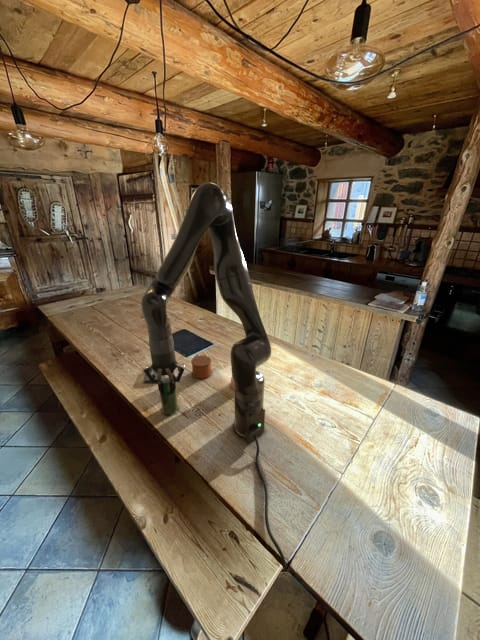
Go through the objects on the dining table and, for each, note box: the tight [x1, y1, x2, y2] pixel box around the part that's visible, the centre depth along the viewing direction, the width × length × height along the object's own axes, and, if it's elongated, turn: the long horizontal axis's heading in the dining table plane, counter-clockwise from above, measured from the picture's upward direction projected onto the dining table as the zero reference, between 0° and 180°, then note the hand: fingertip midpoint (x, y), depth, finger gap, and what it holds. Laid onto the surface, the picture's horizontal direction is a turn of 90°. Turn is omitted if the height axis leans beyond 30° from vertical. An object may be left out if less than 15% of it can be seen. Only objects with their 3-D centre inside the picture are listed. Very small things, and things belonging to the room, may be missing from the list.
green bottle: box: [159, 377, 179, 415], centre depth 93 cm, size 6×6×12 cm
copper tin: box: [190, 355, 212, 380], centre depth 115 cm, size 8×8×7 cm
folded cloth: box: [143, 370, 165, 384], centre depth 115 cm, size 10×7×1 cm
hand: (167, 390), depth 93 cm, fingers closed on green bottle, 3 cm apart
